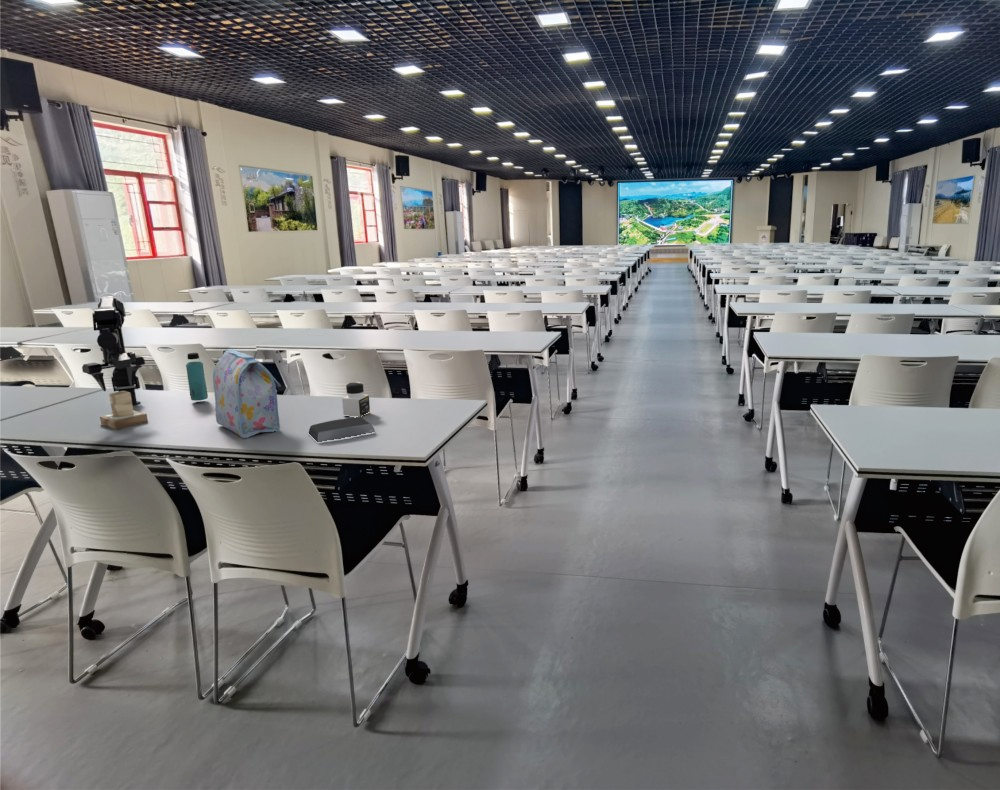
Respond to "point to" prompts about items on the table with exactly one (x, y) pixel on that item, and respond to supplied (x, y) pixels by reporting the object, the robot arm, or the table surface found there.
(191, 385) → the beverage bottle
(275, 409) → the lunch bag
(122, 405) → the oak block
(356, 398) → the medicine bottle
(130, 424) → the picture frame
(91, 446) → the table surface
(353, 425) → the external hard drive
